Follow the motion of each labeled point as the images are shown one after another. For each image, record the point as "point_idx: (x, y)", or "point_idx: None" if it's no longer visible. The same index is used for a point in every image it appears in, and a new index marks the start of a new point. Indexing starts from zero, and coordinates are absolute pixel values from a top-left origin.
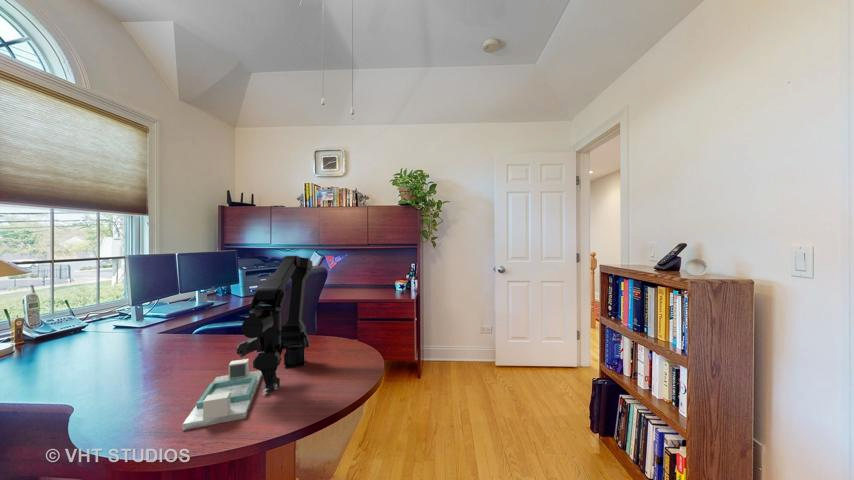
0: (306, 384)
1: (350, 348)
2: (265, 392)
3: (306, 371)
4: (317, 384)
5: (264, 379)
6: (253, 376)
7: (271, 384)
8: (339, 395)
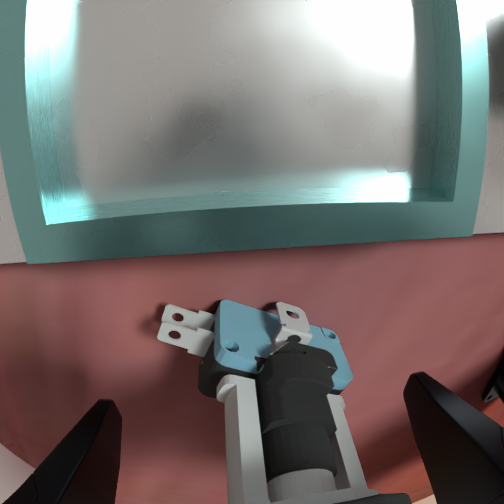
0: None
1: None
2: (199, 319)
3: None
4: None
5: (55, 453)
6: (477, 205)
7: (207, 395)
8: (135, 499)
